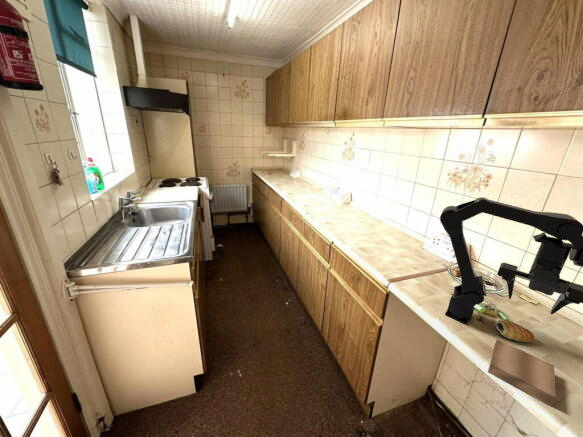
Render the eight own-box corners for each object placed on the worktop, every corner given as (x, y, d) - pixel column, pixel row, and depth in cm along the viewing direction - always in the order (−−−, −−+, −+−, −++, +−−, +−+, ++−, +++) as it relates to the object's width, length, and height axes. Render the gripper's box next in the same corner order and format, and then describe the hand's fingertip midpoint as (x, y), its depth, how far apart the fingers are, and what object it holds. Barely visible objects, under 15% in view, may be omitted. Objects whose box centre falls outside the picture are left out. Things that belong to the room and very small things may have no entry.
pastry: (525, 331, 80) (529, 322, 79) (539, 347, 73) (544, 337, 72) (492, 324, 82) (495, 315, 81) (502, 339, 76) (506, 329, 75)
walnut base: (487, 372, 65) (491, 363, 64) (493, 346, 73) (496, 339, 72) (550, 406, 57) (555, 397, 56) (549, 373, 66) (554, 365, 65)
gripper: (503, 256, 68) (486, 302, 74) (607, 285, 56) (578, 338, 61) (507, 245, 76) (492, 287, 81) (599, 268, 64) (574, 317, 69)
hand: (529, 305), depth 73 cm, fingers open, 9 cm apart
